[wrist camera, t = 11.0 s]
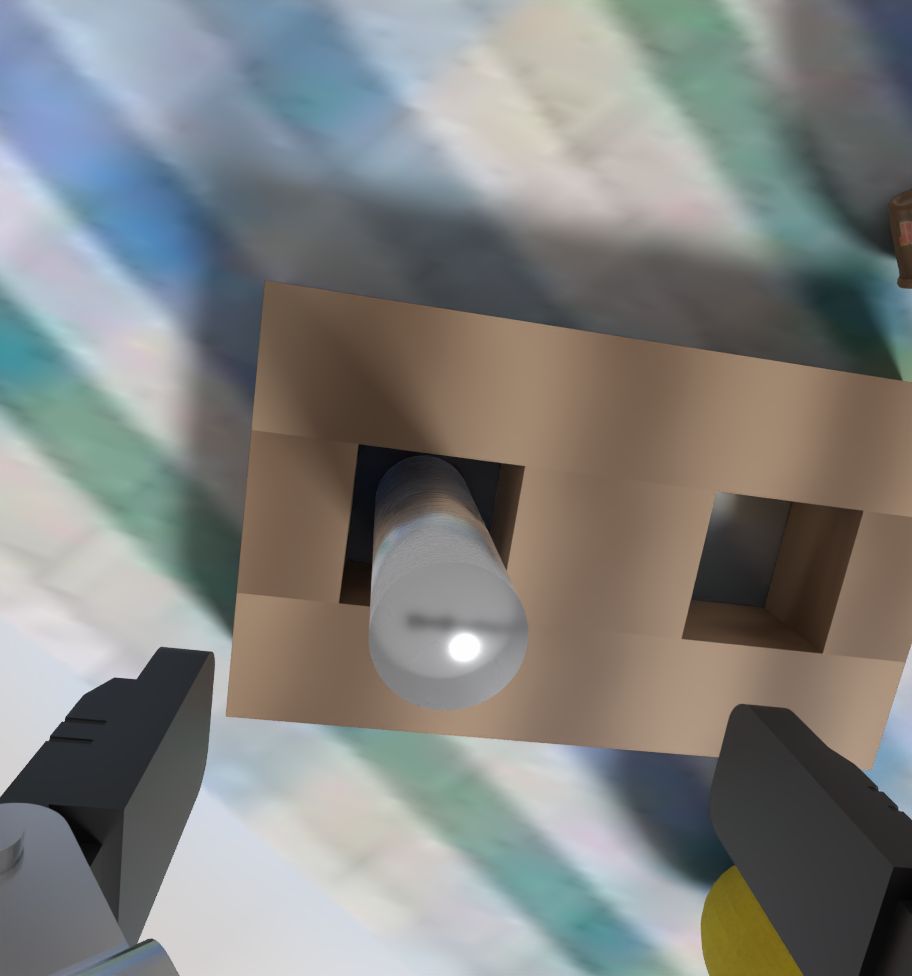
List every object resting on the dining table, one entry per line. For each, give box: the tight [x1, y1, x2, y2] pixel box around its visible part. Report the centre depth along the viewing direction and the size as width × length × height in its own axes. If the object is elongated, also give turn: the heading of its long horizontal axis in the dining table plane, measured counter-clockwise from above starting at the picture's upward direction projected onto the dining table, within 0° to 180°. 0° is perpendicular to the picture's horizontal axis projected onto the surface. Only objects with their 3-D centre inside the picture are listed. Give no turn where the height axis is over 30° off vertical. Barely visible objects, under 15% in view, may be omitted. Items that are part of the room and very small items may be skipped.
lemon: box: [701, 865, 803, 976], centre depth 24 cm, size 6×6×8 cm
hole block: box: [226, 280, 912, 770], centre depth 22 cm, size 20×12×4 cm, turn 81°
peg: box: [369, 455, 528, 710], centre depth 19 cm, size 3×3×10 cm
